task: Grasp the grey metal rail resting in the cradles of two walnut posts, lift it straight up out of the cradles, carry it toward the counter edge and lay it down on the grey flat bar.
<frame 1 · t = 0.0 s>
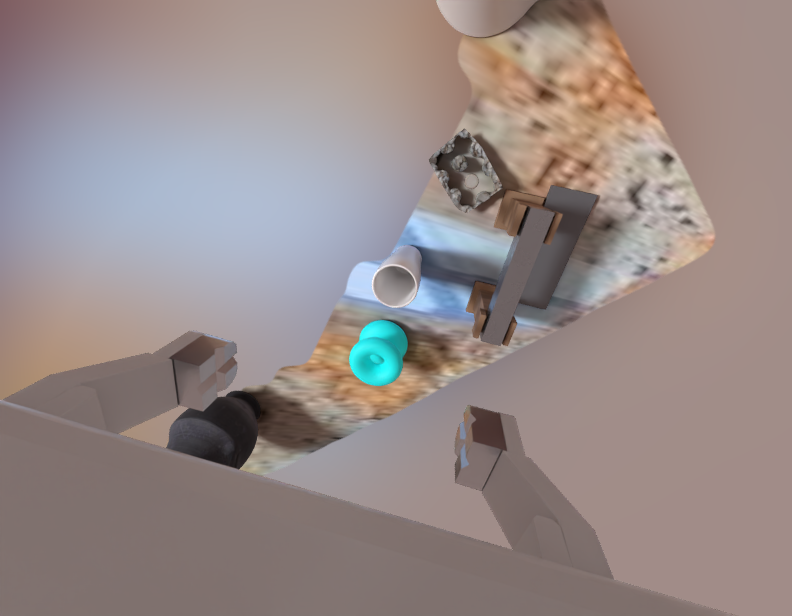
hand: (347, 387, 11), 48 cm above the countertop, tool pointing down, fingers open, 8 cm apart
donuts: (384, 338, 66), on the countertop
drinking glass: (407, 258, 58), on the countertop
post 1: (486, 299, 59), on the countertop
grey flat bar: (547, 251, 54), on the countertop
pitcher: (250, 404, 80), on the countertop
post 2: (517, 212, 52), on the countertop
rail: (510, 276, 46), point 10 cm above the countertop, touching post 1, post 2
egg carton: (464, 173, 51), on the countertop
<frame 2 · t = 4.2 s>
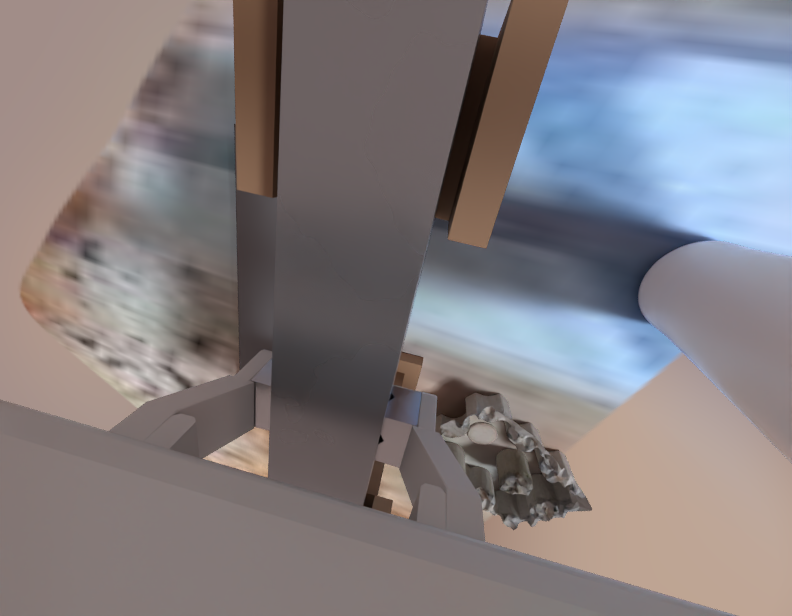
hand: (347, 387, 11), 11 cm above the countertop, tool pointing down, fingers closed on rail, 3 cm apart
drinking glass: (684, 284, 18), on the countertop
post 1: (425, 145, 17), on the countertop
grey flat bar: (290, 297, 22), on the countertop
post 2: (375, 379, 24), on the countertop
rail: (352, 376, 11), point 10 cm above the countertop, touching gripper, post 1, post 2
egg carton: (498, 441, 25), on the countertop
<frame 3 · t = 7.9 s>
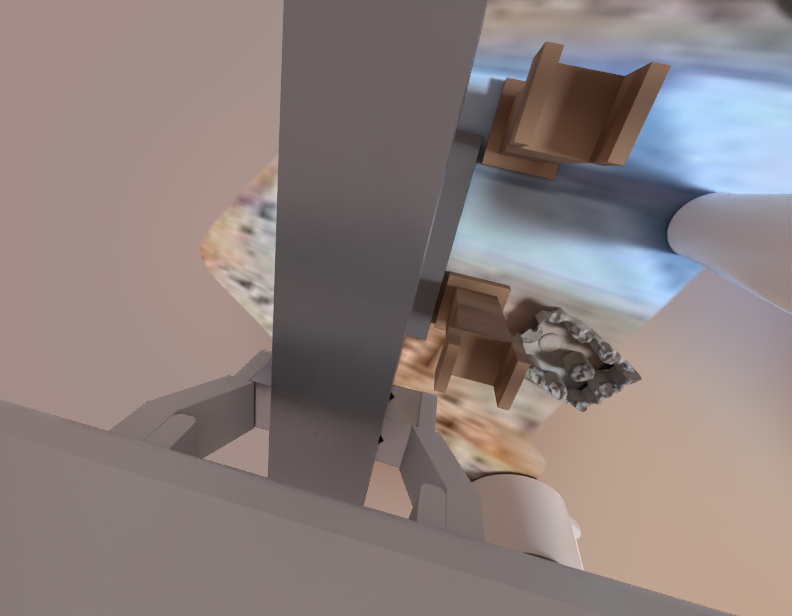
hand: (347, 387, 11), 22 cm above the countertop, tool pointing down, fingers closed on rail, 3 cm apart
drinking glass: (698, 225, 27), on the countertop
post 1: (528, 132, 26), on the countertop
grey flat bar: (415, 242, 31), on the countertop
post 2: (470, 305, 33), on the countertop
rail: (352, 375, 11), point 22 cm above the countertop, touching gripper
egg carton: (562, 348, 34), on the countertop
when the fingers open (3 cm above the countertop, at t = 11.9 s): rail drops 2 cm, resting on grey flat bar.
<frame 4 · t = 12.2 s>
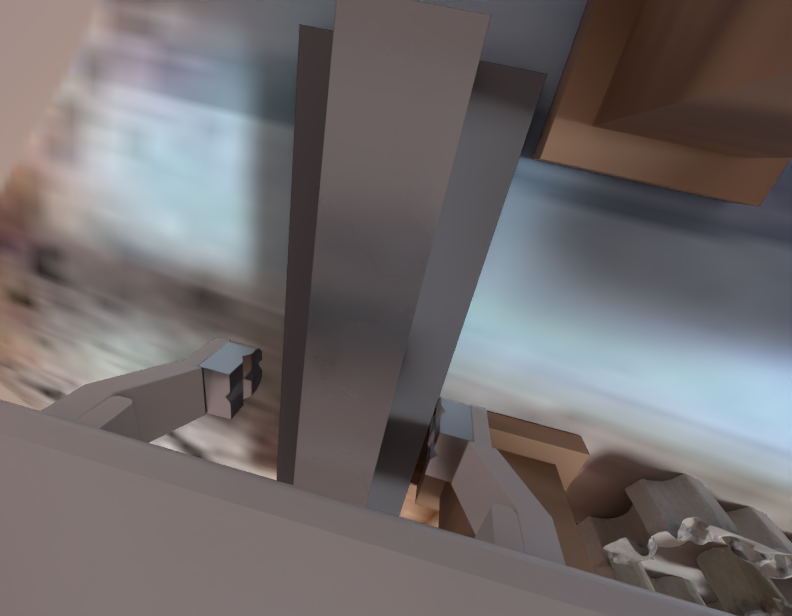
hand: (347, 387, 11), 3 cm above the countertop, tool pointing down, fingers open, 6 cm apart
post 1: (687, 61, 8), on the countertop
grey flat bar: (368, 340, 14), on the countertop
post 2: (491, 463, 15), on the countertop
rail: (367, 349, 13), point 1 cm above the countertop, touching grey flat bar
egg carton: (691, 535, 16), on the countertop
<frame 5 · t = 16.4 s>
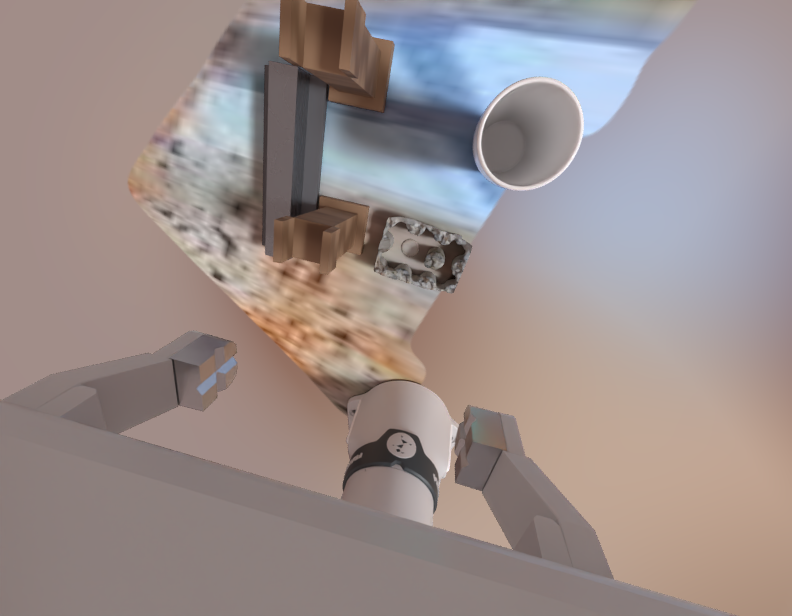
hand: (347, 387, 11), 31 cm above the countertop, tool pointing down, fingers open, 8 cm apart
drinking glass: (498, 148, 34), on the countertop
post 1: (361, 74, 33), on the countertop
grey flat bar: (293, 171, 39), on the countertop
post 2: (343, 225, 40), on the countertop
rail: (291, 171, 38), point 1 cm above the countertop, touching grey flat bar
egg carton: (423, 249, 40), on the countertop
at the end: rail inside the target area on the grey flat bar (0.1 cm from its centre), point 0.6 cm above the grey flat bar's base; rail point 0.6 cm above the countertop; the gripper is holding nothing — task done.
